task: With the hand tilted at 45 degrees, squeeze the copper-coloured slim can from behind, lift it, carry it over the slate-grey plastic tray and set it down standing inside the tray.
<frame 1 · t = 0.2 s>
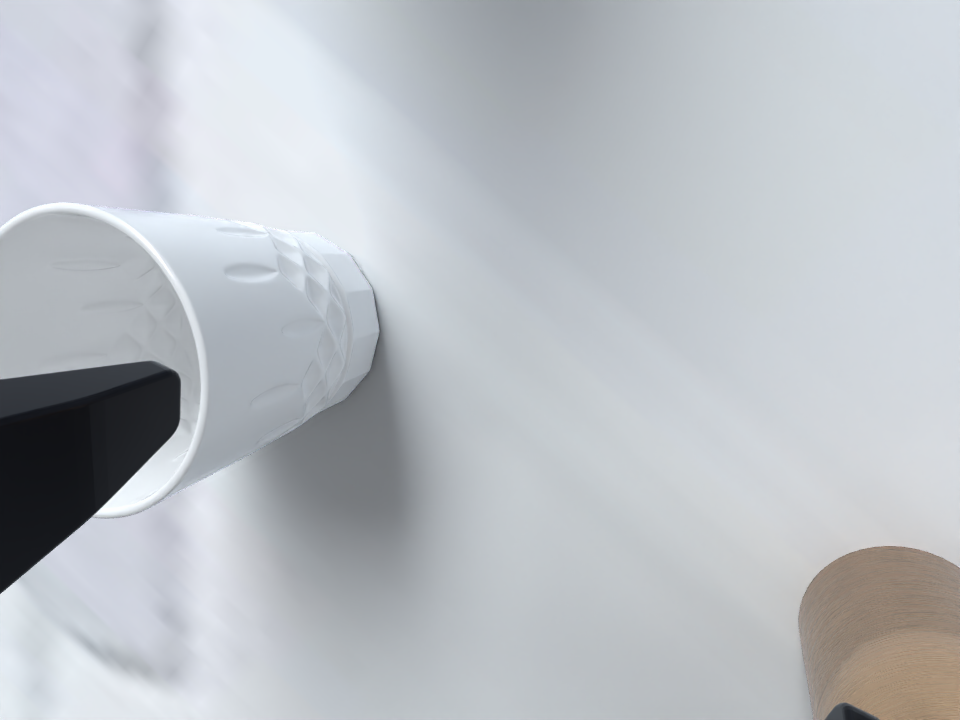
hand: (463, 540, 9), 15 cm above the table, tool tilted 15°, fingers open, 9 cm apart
can: (895, 630, 22), on the table
white cup: (303, 320, 27), on the table
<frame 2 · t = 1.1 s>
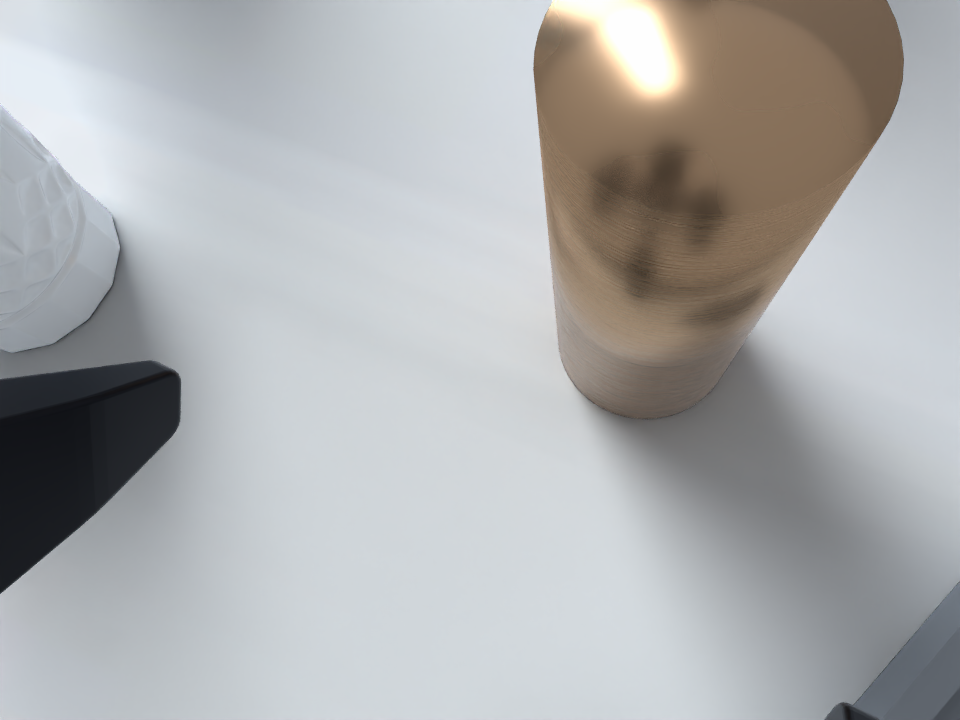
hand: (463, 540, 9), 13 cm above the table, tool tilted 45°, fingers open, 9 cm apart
can: (642, 336, 23), on the table
white cup: (41, 269, 27), on the table
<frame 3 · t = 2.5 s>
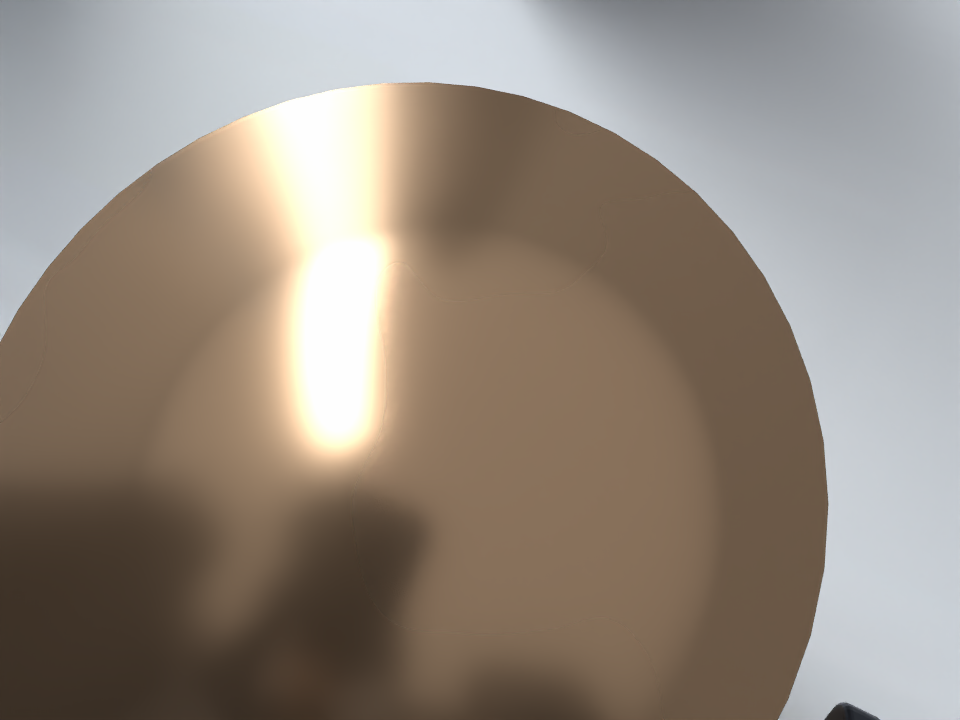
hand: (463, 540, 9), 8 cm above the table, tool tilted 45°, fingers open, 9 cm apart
can: (516, 565, 17), on the table
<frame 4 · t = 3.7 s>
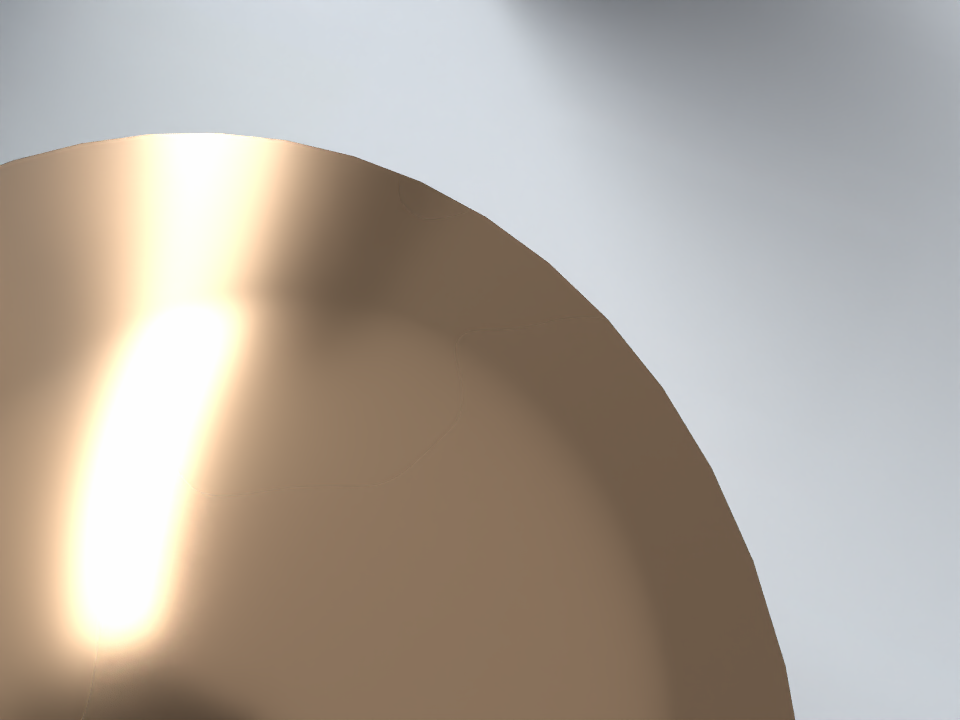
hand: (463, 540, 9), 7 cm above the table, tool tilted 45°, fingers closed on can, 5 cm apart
can: (480, 628, 15), on the table, touching gripper
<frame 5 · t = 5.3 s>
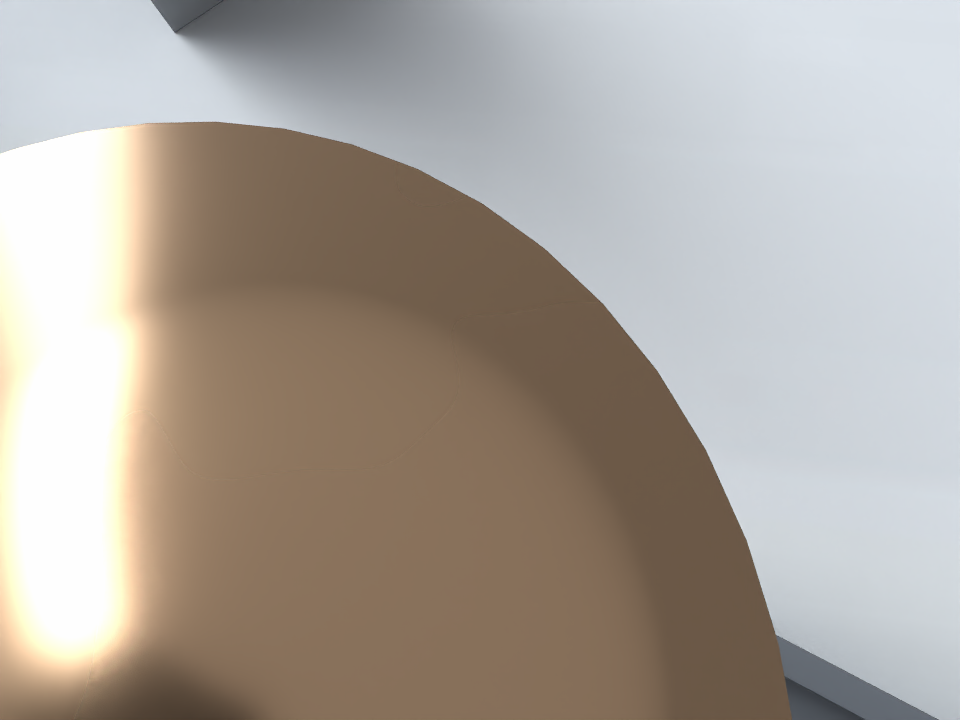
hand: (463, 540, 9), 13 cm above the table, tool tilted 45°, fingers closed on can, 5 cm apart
can: (479, 624, 15), point 7 cm above the table, touching gripper
when the fingers open (8 cm above the table, at t = 7.2 s): can drops 1 cm, resting on tray.
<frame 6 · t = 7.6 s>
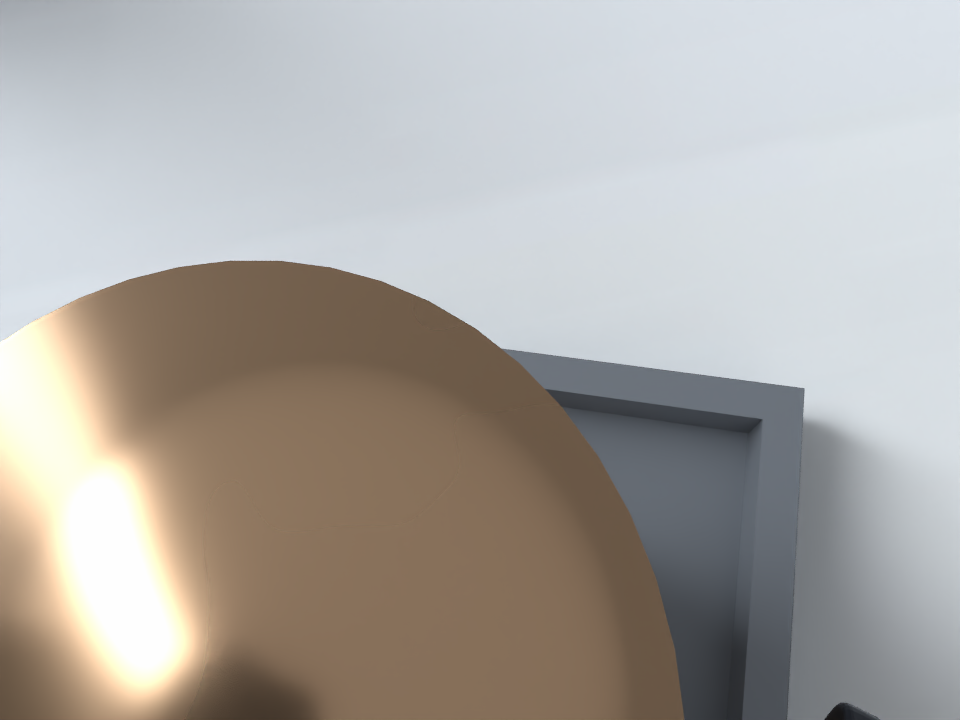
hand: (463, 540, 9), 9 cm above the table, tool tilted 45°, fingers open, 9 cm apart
can: (487, 628, 16), point 1 cm above the table, touching tray
tray: (491, 624, 17), on the table
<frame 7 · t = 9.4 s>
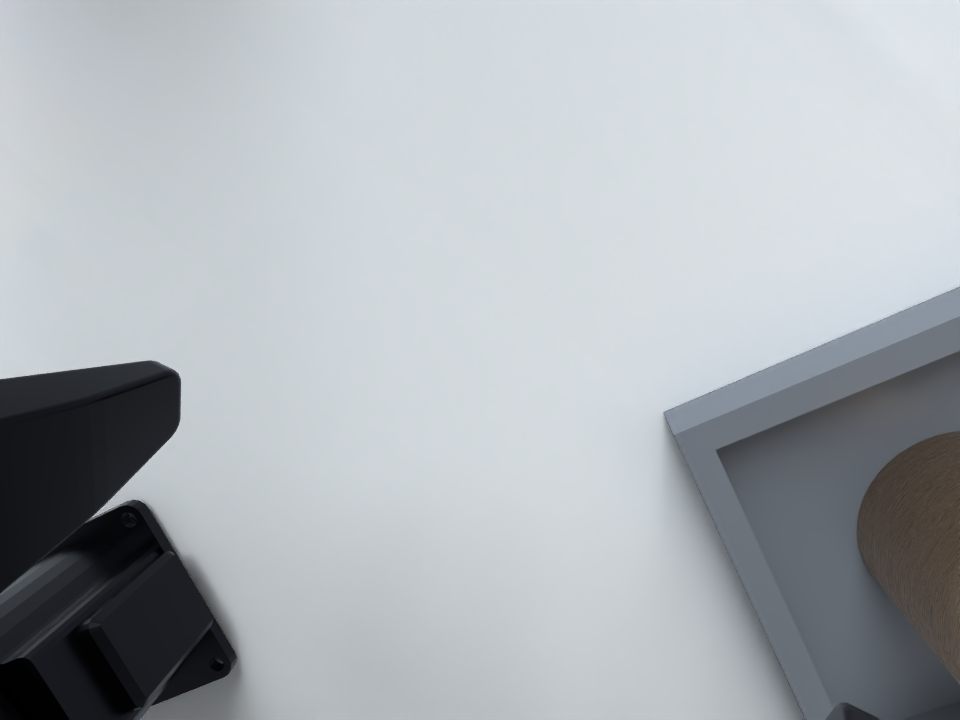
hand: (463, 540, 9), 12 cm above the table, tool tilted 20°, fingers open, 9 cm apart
tray: (952, 514, 20), on the table
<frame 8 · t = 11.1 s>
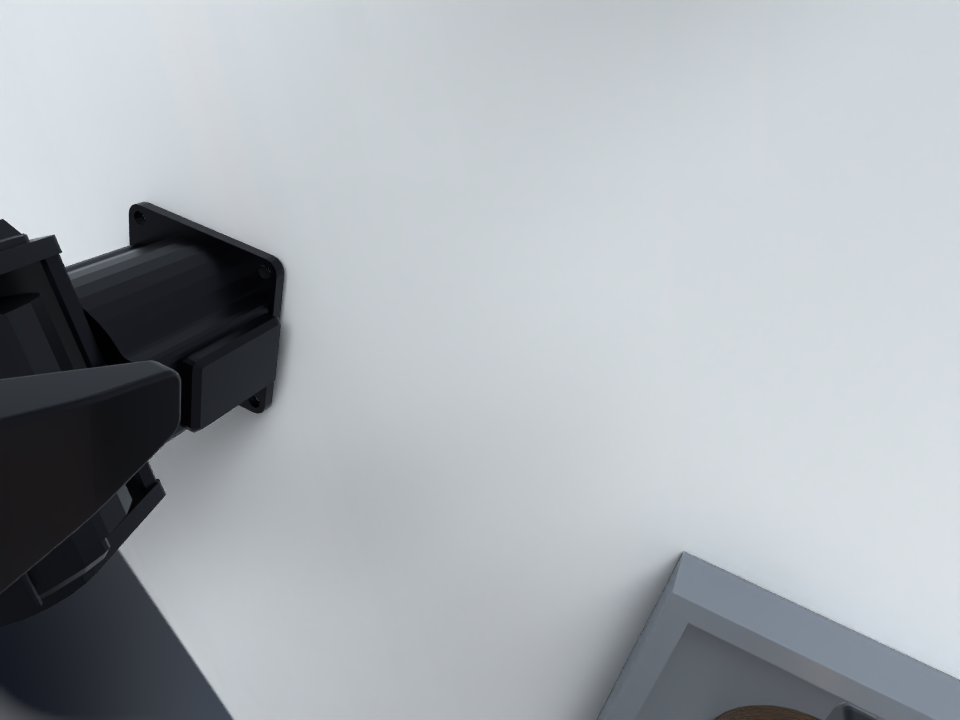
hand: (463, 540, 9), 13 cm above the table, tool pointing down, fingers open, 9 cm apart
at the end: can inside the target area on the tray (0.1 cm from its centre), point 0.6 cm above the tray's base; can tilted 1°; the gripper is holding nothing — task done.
